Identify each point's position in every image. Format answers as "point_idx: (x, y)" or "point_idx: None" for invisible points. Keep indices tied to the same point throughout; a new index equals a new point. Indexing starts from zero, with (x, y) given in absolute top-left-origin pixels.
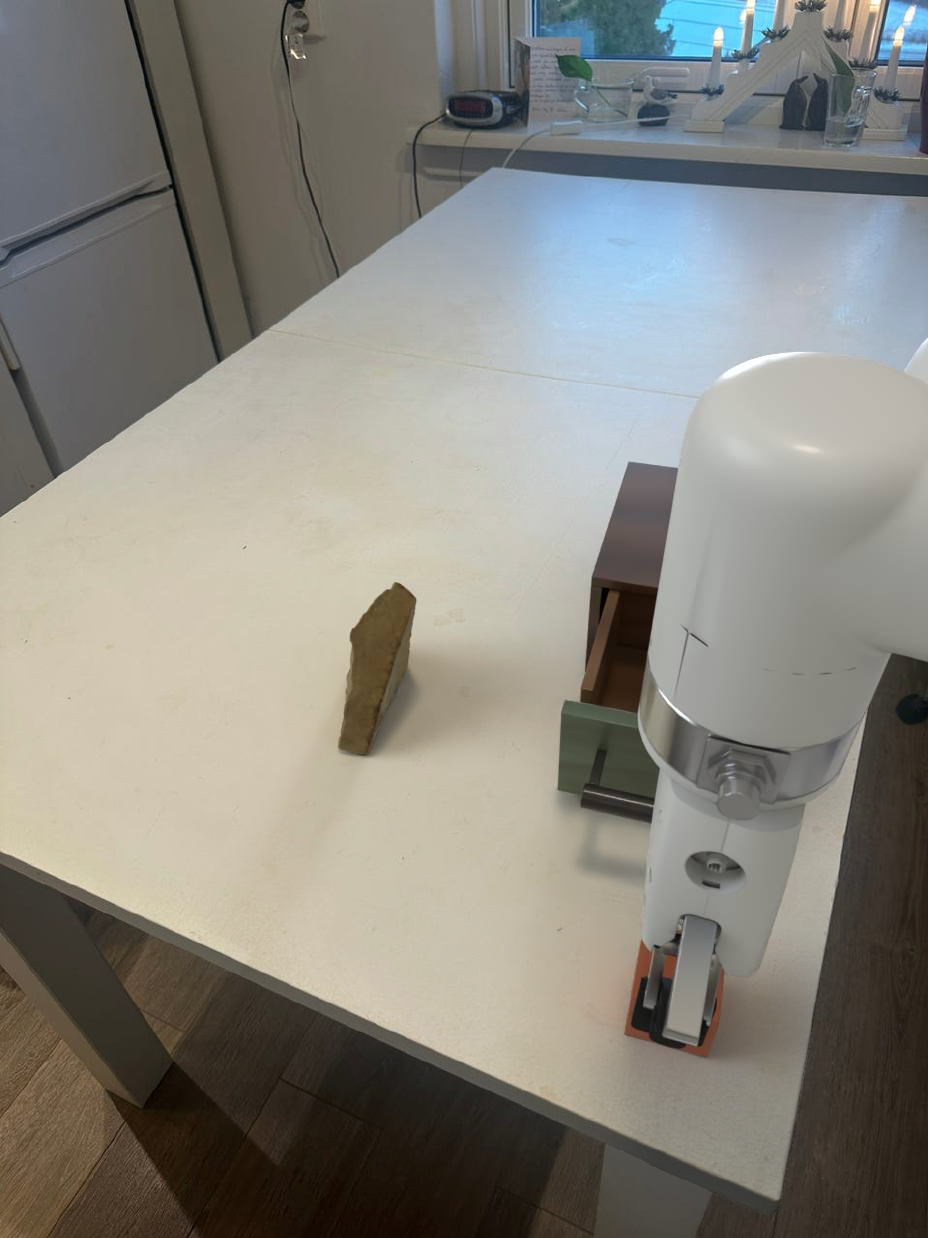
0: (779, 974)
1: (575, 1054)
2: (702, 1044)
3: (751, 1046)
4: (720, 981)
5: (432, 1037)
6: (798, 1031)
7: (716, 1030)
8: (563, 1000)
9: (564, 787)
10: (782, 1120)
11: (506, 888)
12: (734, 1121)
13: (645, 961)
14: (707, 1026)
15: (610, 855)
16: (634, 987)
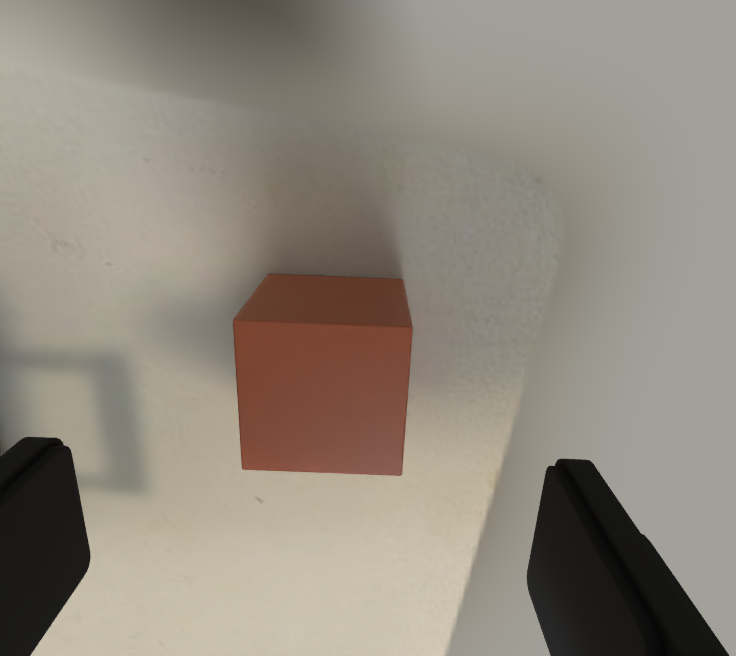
0: (217, 159)
1: (438, 454)
2: (593, 465)
3: (364, 207)
4: (324, 328)
5: (454, 607)
6: (316, 123)
7: (407, 312)
8: (366, 479)
9: None
10: (476, 152)
11: (221, 572)
12: (491, 230)
13: (324, 462)
14: (642, 543)
15: (101, 450)
16: (379, 472)
